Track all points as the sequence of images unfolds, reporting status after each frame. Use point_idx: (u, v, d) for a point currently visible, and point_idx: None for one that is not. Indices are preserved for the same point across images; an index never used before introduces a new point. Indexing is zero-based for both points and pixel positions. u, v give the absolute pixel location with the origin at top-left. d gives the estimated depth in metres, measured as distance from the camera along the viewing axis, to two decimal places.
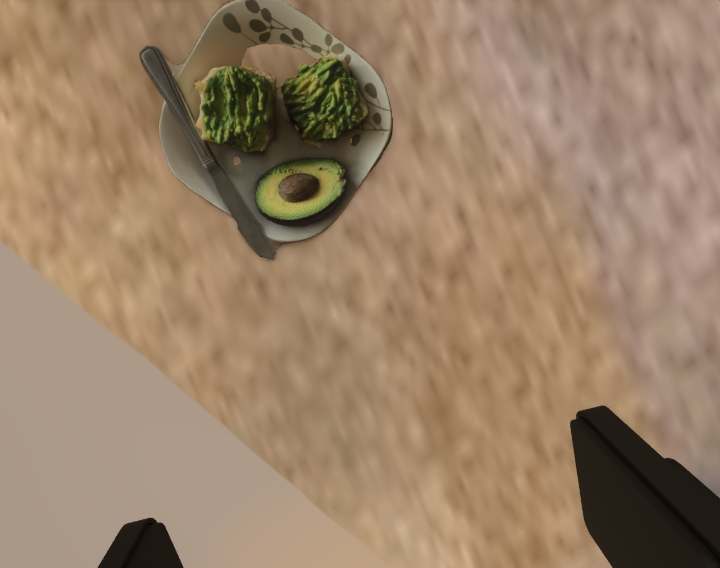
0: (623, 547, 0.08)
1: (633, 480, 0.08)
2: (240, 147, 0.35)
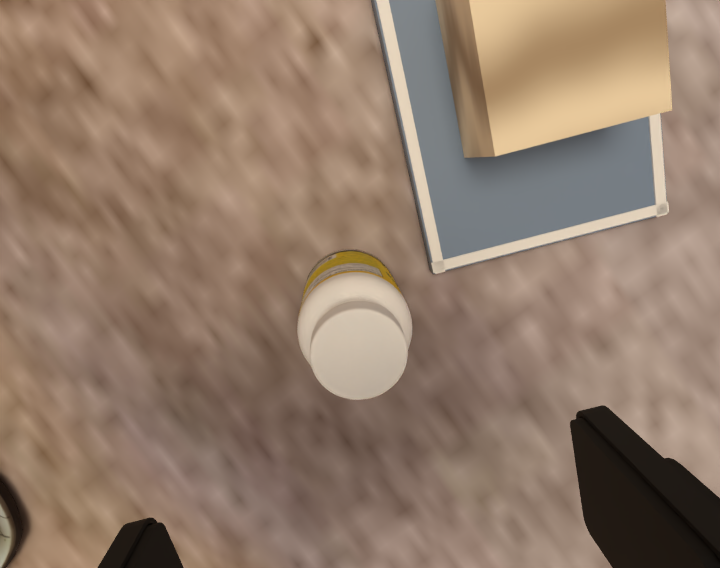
0: (623, 547, 0.08)
1: (633, 480, 0.08)
2: None
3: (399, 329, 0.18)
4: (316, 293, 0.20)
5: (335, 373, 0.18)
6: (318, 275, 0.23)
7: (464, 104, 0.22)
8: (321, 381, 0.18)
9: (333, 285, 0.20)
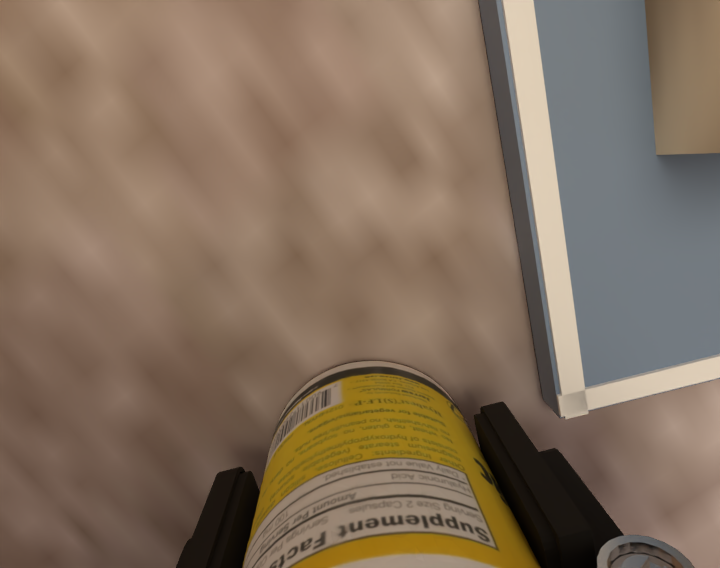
0: None
1: (507, 466, 0.09)
2: None
3: None
4: None
5: None
6: (290, 491, 0.08)
7: None
8: None
9: None
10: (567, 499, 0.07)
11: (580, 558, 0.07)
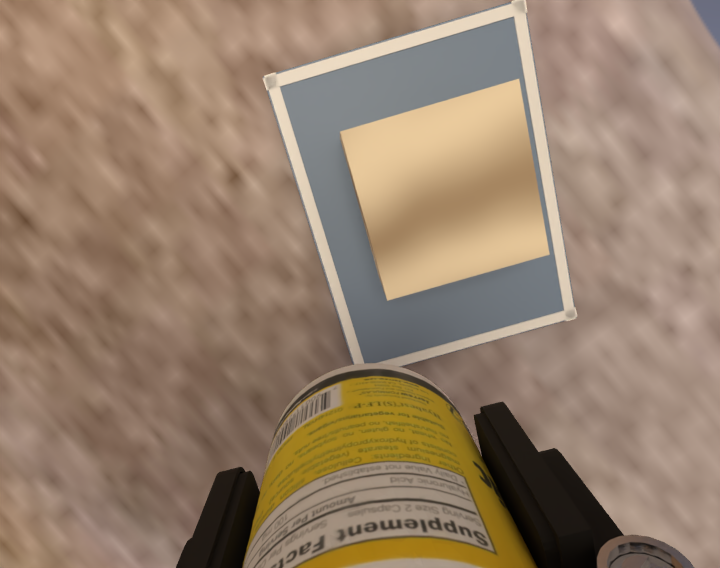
0: None
1: (507, 467, 0.09)
2: None
3: None
4: None
5: None
6: (290, 494, 0.08)
7: (368, 238, 0.24)
8: None
9: None
10: (567, 499, 0.07)
11: (580, 558, 0.07)
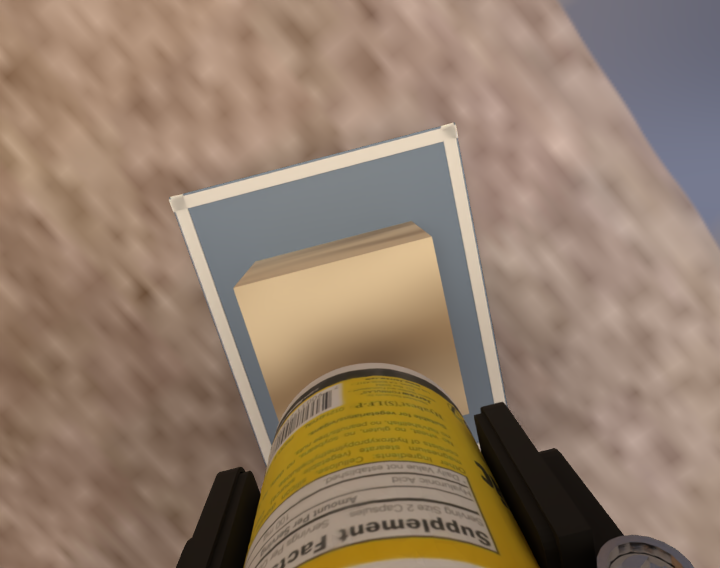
0: None
1: (507, 466, 0.09)
2: None
3: None
4: None
5: None
6: (291, 494, 0.08)
7: None
8: None
9: None
10: (567, 499, 0.07)
11: (580, 558, 0.07)
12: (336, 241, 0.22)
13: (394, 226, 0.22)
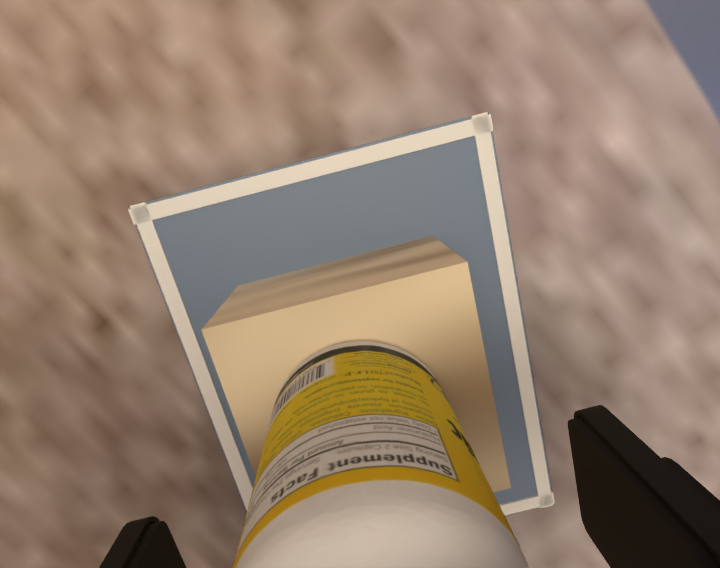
0: (620, 546, 0.08)
1: (630, 479, 0.08)
2: None
3: None
4: (269, 558, 0.07)
5: None
6: (289, 442, 0.09)
7: None
8: None
9: (321, 543, 0.07)
10: None
11: None
12: (339, 261, 0.18)
13: (411, 242, 0.18)
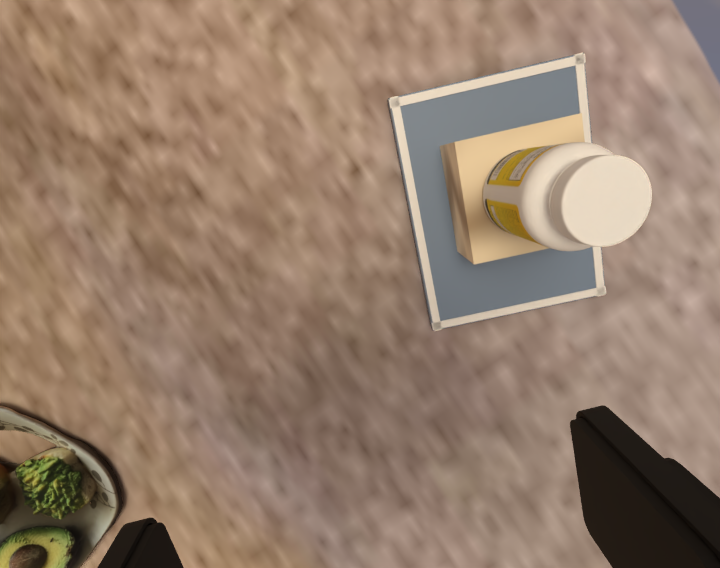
0: (623, 546, 0.08)
1: (633, 480, 0.08)
2: None
3: (647, 177, 0.19)
4: (547, 156, 0.22)
5: (583, 218, 0.20)
6: (526, 155, 0.24)
7: (457, 221, 0.33)
8: (568, 225, 0.20)
9: (565, 148, 0.21)
10: None
11: None
12: None
13: None
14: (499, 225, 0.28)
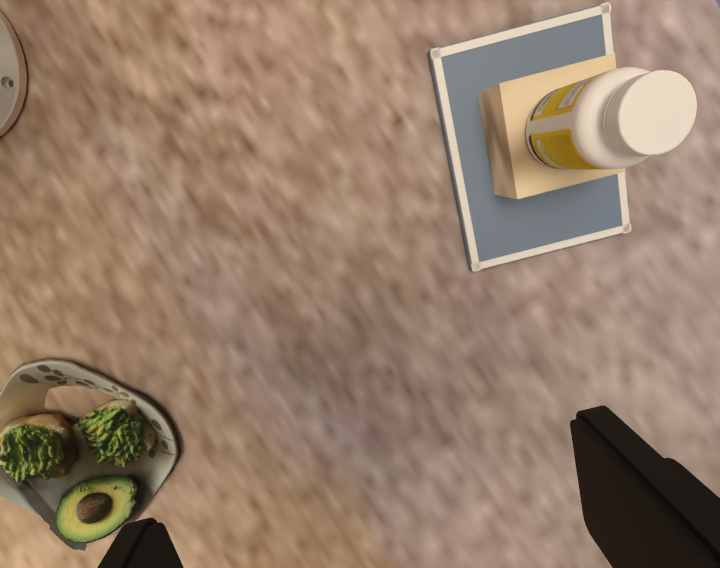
0: (623, 547, 0.08)
1: (633, 480, 0.08)
2: (41, 476, 0.41)
3: (693, 90, 0.22)
4: (598, 80, 0.24)
5: (637, 128, 0.22)
6: (573, 86, 0.27)
7: (496, 163, 0.35)
8: (624, 136, 0.22)
9: (615, 72, 0.24)
10: None
11: None
12: None
13: None
14: (543, 158, 0.30)
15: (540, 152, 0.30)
